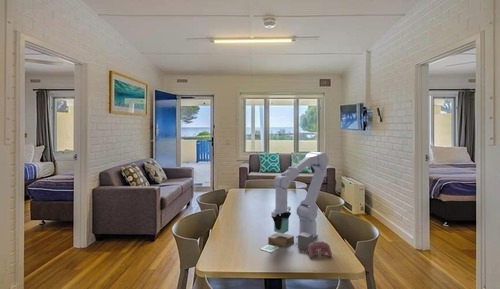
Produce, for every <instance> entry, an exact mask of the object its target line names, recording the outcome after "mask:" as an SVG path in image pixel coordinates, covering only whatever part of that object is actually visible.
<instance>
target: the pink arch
mask: <svg viewBox="0 0 500 289" xmlns="http://www.w3.org/2000/svg"><path fill="white" fill-rule="evenodd" d="M318 249H320V250H319V251H318ZM307 251H308V256H309V257H310V259H313V256H318V255H319V254H320V255H321V256H325V255H326V253H327V255H328V257H329V258H333V253H332V250H331V247H330V245H329V243H327V242H325V241H313V243H310V244H309V245H308V250H307Z"/></svg>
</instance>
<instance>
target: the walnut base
mask: <svg viewBox="0 0 500 289" xmlns="http://www.w3.org/2000/svg"><path fill="white" fill-rule="evenodd" d="M267 238H268V239H267V241H268V244H269V245H273V246H276V247H281V248H286V247H287V246H289V245H291V244H292V243H294V242H295V235H293V234H288V233H284V234H282V233H278V232H274V234H272V235H270V236H268V237H267Z"/></svg>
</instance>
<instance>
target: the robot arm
mask: <svg viewBox="0 0 500 289" xmlns="http://www.w3.org/2000/svg"><path fill="white" fill-rule="evenodd" d="M329 161H330V159H329V156H328V154H327V153H326V152H319V151H309V152H308V153H307V154H305V157H304V158H303V159H301V160H300V161H299V162H298V163H297V164H296V165H295V166H293V165H292V166H288V167H287V169H286V170H285V171H284V172H282V173H281V174H280V175H278V174H277V175H276V176H275V177H274V178H273V180H272V183H273V186H274V190H275V209H274V210H273V211H272V212H271V216H270V217H271V219H272V220H273V224H274V223H275V227H276V229H277V230H280V229H281V222H282V219H283V218H287V219H289V218H290V217H291V215H292V212H291V206H288V188H289V187H290V185H291V183H292V182H293V181H295V179H296V178H297V177H299V175H300V172H301V171H304V169H306V168H307V167H309V166H311V167H312V168H313V170H314V172H313V175H312V178H311V182H310V184H309V186H308V190H307V193H306V195H305V197H304V200H302V201H300V203H299V205H298V207H296V215H297V216H298V219H299V234H301V233H302V232H305V233H310V234H313V239H314V238H316V237H317V236H318V235H319V234H318V233H317V221H316V219H317V216H318V210H319V206H318V205H317V199H318V197H319V193H320V190H321V188H322V184H323V182H324V178H325V176H326V172H327V167H328V164H329ZM299 234H297V235H296V237H297V238H298V235H299Z"/></svg>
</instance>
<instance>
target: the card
mask: <svg viewBox="0 0 500 289" xmlns="http://www.w3.org/2000/svg"><path fill="white" fill-rule="evenodd" d="M279 249H280V246H277V245H274V244H270V243H268V244H267V245H265V246H263V247H261V248H260V249H259V250H261V251H264V252H267V253H273V252H276V251H277V250H279Z"/></svg>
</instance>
